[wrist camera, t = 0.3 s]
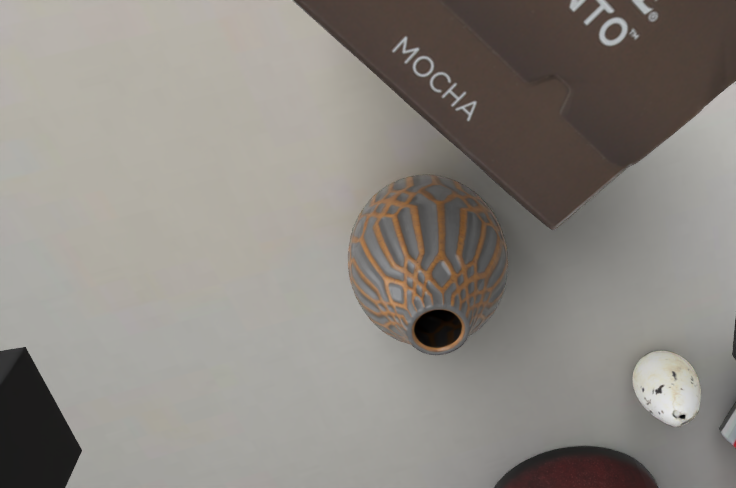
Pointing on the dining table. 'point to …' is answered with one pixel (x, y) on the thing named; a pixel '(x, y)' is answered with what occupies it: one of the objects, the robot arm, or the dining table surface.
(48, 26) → the dining table surface
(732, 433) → the toy car
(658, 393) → the egg
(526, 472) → the vase
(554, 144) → the coffee box
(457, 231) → the vase
